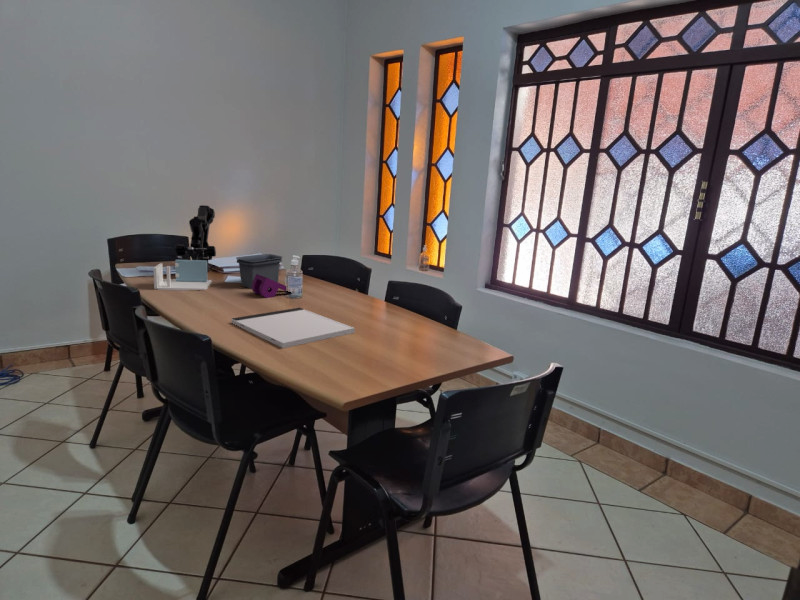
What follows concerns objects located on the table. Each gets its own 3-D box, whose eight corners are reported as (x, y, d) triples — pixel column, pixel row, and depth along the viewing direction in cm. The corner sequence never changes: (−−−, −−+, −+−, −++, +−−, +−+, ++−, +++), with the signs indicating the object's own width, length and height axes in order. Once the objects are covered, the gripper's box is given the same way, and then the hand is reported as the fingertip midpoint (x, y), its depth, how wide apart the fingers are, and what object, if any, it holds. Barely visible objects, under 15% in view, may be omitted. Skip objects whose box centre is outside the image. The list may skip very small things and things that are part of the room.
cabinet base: (164, 281, 259) (163, 259, 256) (211, 282, 263) (211, 261, 261) (154, 289, 241) (153, 267, 238) (205, 290, 245) (205, 268, 243)
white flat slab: (231, 318, 199) (300, 307, 221) (231, 324, 200) (300, 312, 222) (283, 343, 176) (354, 328, 197) (283, 350, 176) (354, 334, 198)
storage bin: (250, 290, 251) (250, 261, 248) (230, 285, 260) (230, 256, 257) (285, 285, 268) (285, 257, 265) (265, 279, 277) (265, 252, 273)
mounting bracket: (279, 302, 256) (248, 290, 243) (286, 286, 257) (256, 273, 244) (290, 307, 250) (259, 294, 237) (297, 290, 251) (266, 277, 238)
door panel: (177, 279, 257) (176, 259, 255) (207, 280, 260) (207, 260, 258) (175, 281, 253) (174, 261, 251) (206, 282, 256) (205, 262, 254)
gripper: (218, 249, 279) (215, 273, 271) (180, 247, 275) (176, 272, 267) (215, 236, 270) (213, 261, 262) (176, 234, 266) (172, 260, 258)
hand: (194, 264), depth 262 cm, fingers closed
